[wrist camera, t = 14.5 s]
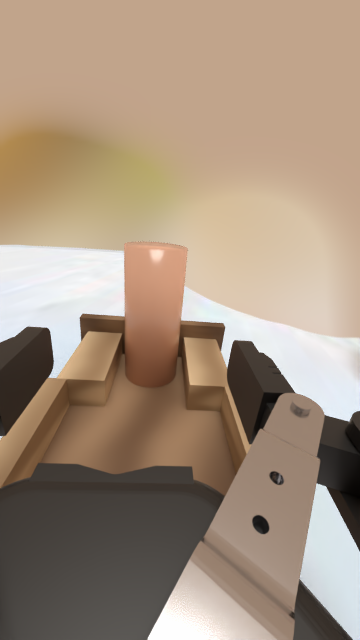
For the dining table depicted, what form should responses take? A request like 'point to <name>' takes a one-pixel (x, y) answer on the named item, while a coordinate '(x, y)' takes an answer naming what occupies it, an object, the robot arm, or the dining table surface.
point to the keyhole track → (132, 411)
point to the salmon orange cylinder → (153, 311)
